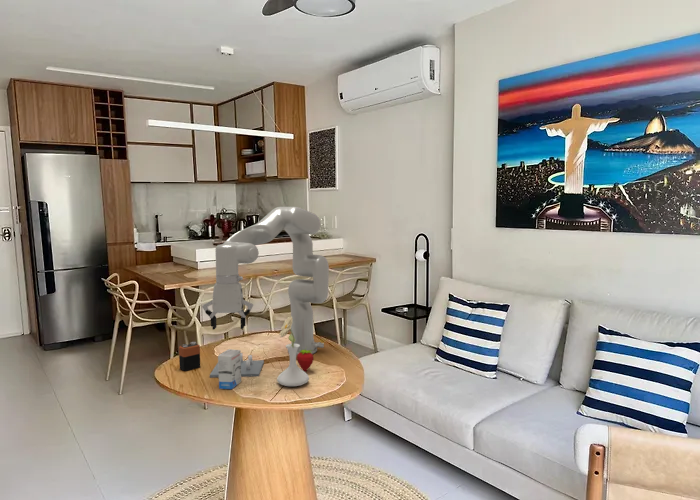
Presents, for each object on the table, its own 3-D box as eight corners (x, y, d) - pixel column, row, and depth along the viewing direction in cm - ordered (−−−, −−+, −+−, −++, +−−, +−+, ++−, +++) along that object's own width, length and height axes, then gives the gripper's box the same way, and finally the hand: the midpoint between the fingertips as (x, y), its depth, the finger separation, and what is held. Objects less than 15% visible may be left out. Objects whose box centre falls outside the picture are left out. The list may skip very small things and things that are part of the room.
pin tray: (263, 362, 194) (263, 351, 194) (258, 376, 178) (258, 364, 178) (218, 363, 193) (218, 352, 193) (209, 377, 177) (209, 365, 177)
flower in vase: (280, 377, 177) (278, 310, 175) (310, 378, 176) (310, 310, 174) (273, 391, 164) (272, 319, 162) (306, 391, 163) (305, 319, 161)
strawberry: (307, 367, 188) (306, 342, 187) (316, 372, 182) (316, 347, 181) (293, 370, 185) (293, 344, 184) (303, 376, 178) (302, 349, 178)
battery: (200, 367, 188) (200, 342, 187) (184, 371, 184) (183, 346, 183) (195, 365, 191) (194, 340, 191) (179, 369, 187) (178, 344, 186)
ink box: (231, 390, 165) (230, 356, 164) (218, 388, 166) (217, 355, 165) (242, 381, 173) (241, 349, 172) (229, 380, 174) (228, 348, 173)
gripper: (254, 278, 171) (254, 325, 172) (204, 278, 170) (205, 326, 171) (251, 281, 163) (251, 330, 165) (199, 281, 162) (200, 331, 164)
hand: (228, 328), depth 168 cm, fingers open, 9 cm apart
